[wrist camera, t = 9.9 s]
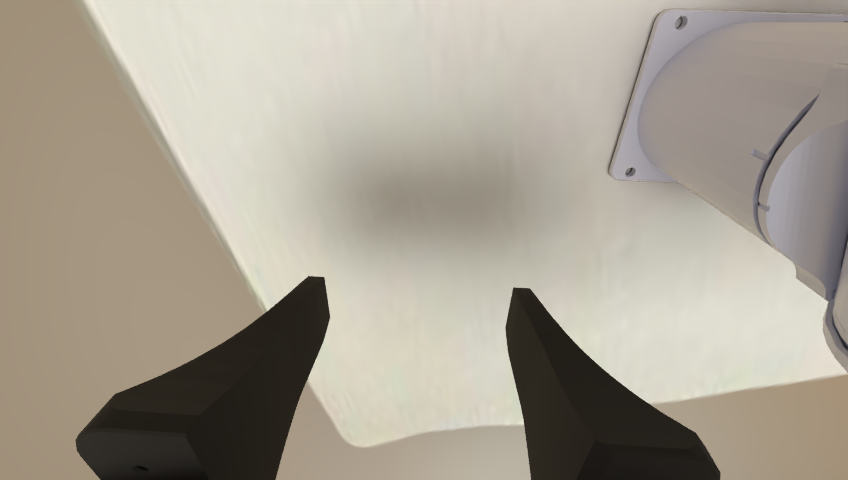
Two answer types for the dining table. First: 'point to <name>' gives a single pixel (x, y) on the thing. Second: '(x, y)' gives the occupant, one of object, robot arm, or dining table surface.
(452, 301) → the dining table surface
